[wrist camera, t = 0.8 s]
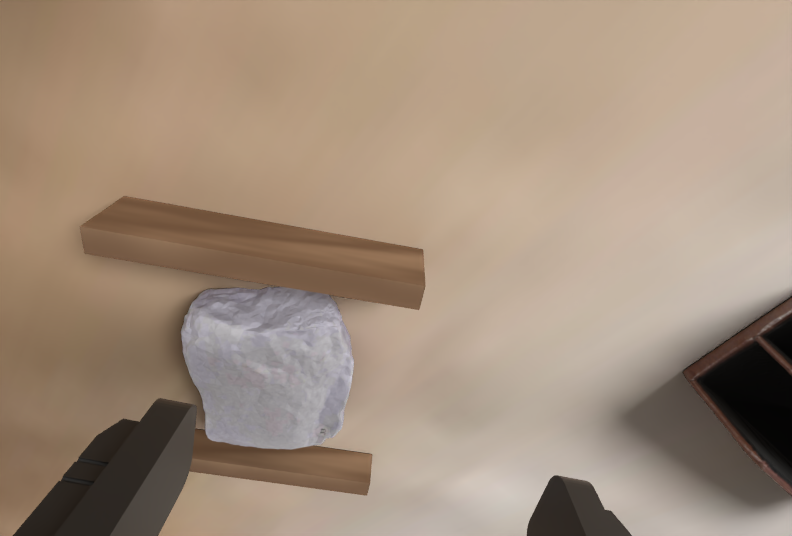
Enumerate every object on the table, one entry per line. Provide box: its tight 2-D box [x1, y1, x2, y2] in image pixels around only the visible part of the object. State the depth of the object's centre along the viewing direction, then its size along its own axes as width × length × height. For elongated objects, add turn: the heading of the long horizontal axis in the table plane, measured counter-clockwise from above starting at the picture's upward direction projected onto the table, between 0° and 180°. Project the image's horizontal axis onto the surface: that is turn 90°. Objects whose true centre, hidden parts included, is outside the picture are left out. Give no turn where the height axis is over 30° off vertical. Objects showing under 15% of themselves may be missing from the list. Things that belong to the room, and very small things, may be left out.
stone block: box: [181, 287, 354, 450], centre depth 30 cm, size 12×5×10 cm
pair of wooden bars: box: [80, 196, 425, 495], centre depth 29 cm, size 20×17×4 cm
